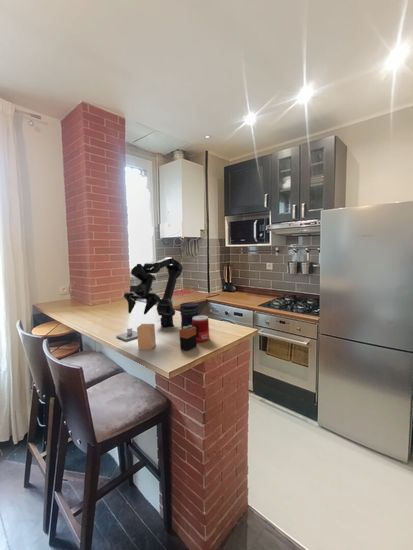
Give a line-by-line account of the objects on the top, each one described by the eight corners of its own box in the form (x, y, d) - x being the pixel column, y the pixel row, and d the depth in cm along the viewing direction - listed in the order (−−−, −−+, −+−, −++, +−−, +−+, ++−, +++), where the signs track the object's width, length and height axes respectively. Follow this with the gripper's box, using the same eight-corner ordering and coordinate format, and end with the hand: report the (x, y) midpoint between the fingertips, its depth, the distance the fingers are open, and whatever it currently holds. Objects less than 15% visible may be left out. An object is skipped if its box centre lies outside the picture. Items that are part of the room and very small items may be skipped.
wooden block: (143, 344, 122) (142, 323, 121) (155, 344, 121) (154, 323, 120) (138, 349, 116) (136, 327, 115) (151, 349, 115) (149, 327, 114)
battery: (179, 349, 114) (178, 327, 113) (189, 344, 119) (188, 323, 118) (187, 351, 111) (186, 328, 110) (197, 346, 117) (196, 324, 116)
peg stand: (133, 332, 141) (133, 324, 141) (143, 336, 134) (143, 327, 134) (116, 337, 134) (115, 329, 133) (126, 341, 127) (125, 332, 126)
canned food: (211, 337, 127) (210, 315, 126) (206, 343, 120) (205, 320, 119) (196, 336, 130) (195, 314, 129) (190, 341, 123) (189, 319, 121)
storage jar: (203, 329, 140) (201, 302, 139) (194, 335, 131) (193, 306, 130) (187, 328, 144) (185, 301, 143) (177, 333, 135) (176, 305, 134)
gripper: (121, 277, 130) (111, 306, 123) (152, 277, 122) (143, 309, 116) (134, 286, 139) (125, 314, 132) (164, 287, 131) (156, 317, 125)
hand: (136, 313), depth 126 cm, fingers open, 9 cm apart
